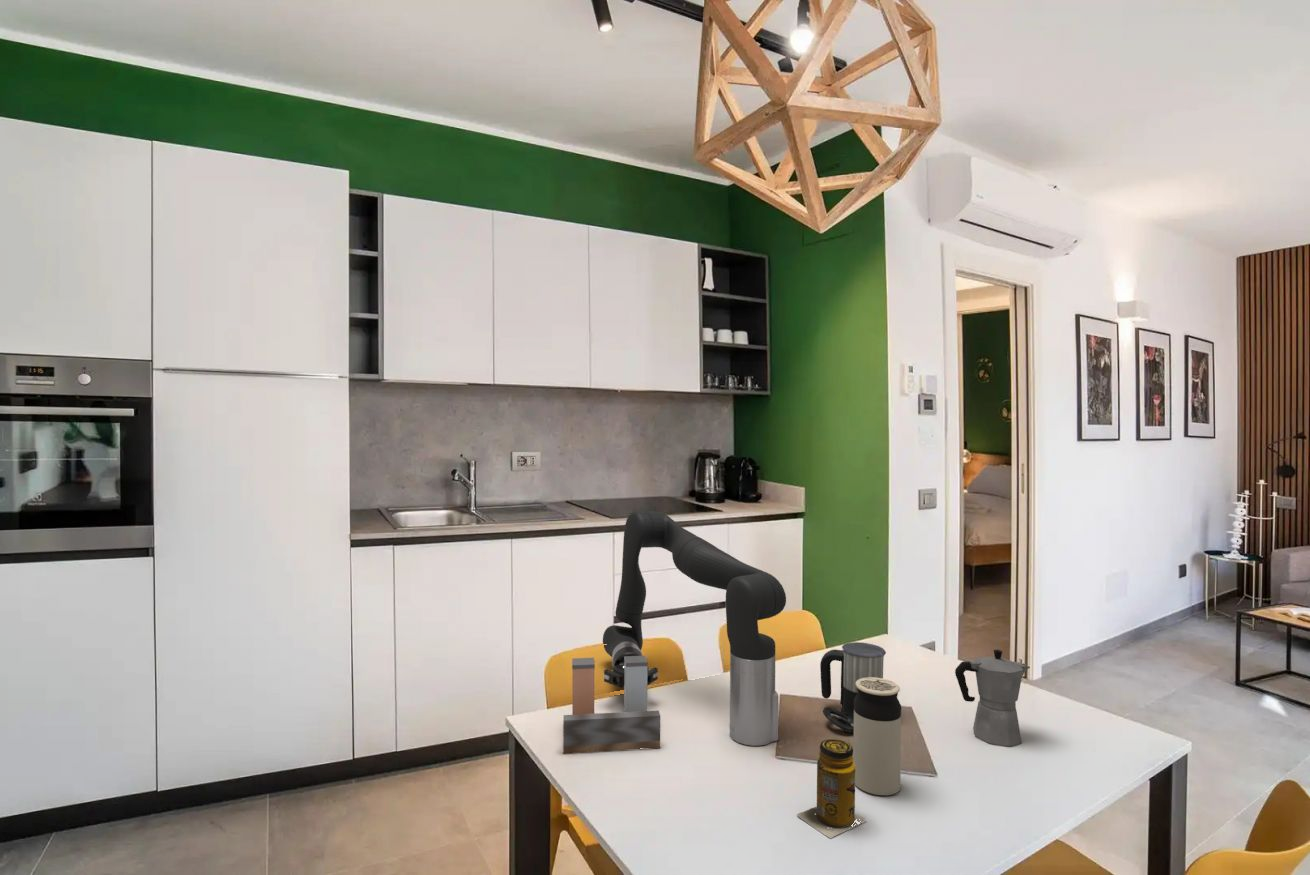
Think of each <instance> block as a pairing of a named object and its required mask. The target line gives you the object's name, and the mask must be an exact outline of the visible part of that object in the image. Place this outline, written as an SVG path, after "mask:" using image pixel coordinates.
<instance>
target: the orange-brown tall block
mask: <svg viewBox="0 0 1310 875" xmlns="http://www.w3.org/2000/svg"><path fill="white" fill-rule="evenodd" d="M571 661H572V662H571V666H572V667H571V668H572V673H571V674H572V678H571V679H572V680H571V681H572V683H571V684H572V689H571V690H572V693H571V694H572V696H571V697H572V698H571V699H572V701H571V702H572V708H571V709H572V714H571V715H576V714H595V669H596V664H595V657H576V658H575V657H574V658H573V657H572V660H571Z"/></svg>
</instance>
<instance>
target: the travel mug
mask: <svg viewBox="0 0 1310 875" xmlns="http://www.w3.org/2000/svg"><path fill="white" fill-rule="evenodd" d="M856 687H857V689H858V694H857V695H856V697H855V699H854V732H853V762H854V764H855V787H857V788H859V789H860V790H861V791H864V792H866V793H868V794H871V795H876V796H891V795H894V794H897V793H898V792H899V791H900V790H901V762H902V761H901V760H902V759H901V758H902V757H901V756H902V755H901V754H902V752H901V751H902V749H901V748H902V747H901V744H902V732H901V731H902V705H901V702H900V701H899V699H898V696H899V692H900V690H901V688H900V685H898V684H897V683H896V682H894V681H892V680H890V679H886V678H884V677H883V678H876V677H867V678H861V679H859V680H857V681H856Z"/></svg>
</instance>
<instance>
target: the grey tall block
mask: <svg viewBox="0 0 1310 875" xmlns="http://www.w3.org/2000/svg"><path fill="white" fill-rule="evenodd" d="M648 666H649V664H648V660H647V655H642V656H624V686H623V690H624V693H623V695H624V696H623V700H624V703H623V708H624V709H623V710H624V711H623V712H637V711H648V686H647V667H648Z"/></svg>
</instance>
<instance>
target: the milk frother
mask: <svg viewBox="0 0 1310 875" xmlns="http://www.w3.org/2000/svg"><path fill="white" fill-rule="evenodd" d="M841 648H842V649H831V650H828V651H827V652H825V653H824V654H823V656H821V660H820V663H819V664H820V666H819V667H820V685H821V686H820V688H821V689H820V690H821V691H820V692H821V696H822V698H823V699H829V698H830V697H831V695H832V676H831V675H832V672H831V668H832V667H831V664H832V662H833V661H838V662H841V667H840V670H841V671H840V706H841V708H840V710H838V709H837V708H832V707H828V706H827V707H824V708H823V709H822V713H823V715H824V717H825V718H826V719H827V720H828V721H829V722H830V723H831V724H832V725H834V726H836V727H838V728H839V729H841V730H843V732H844V733H846V732H851V733H854V699H855V697H856V695H857V694H858V689H857V687H856V681H857V680H859V679H861V678H867V677H876V678H883V679H884V657H885V655H886V654H887V652H886V650H885V649H884V647H881V646H879V645H876V644H873V643H867V642H861V641H860V642H859V641H857V642H856V641H855V642H854V641H853V642H846V643H844V644H843V645H842V646H841Z"/></svg>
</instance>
